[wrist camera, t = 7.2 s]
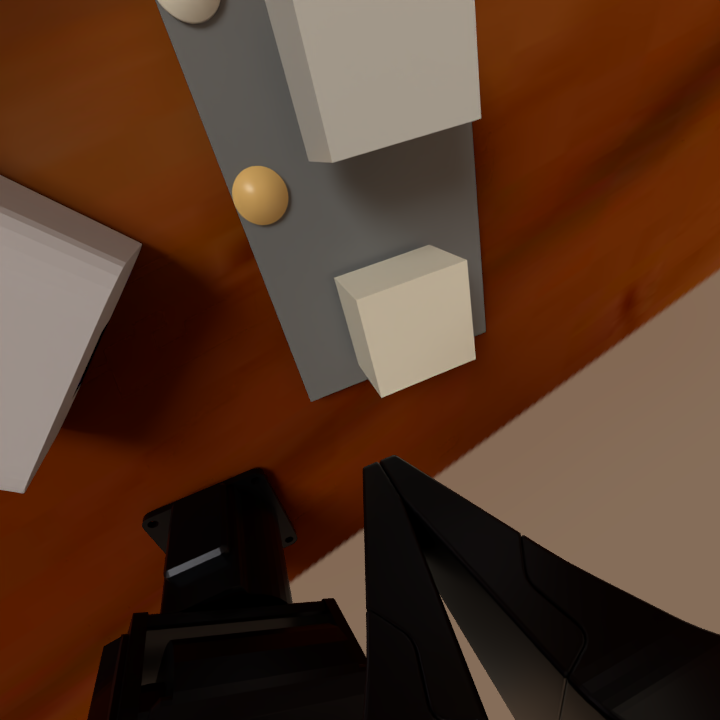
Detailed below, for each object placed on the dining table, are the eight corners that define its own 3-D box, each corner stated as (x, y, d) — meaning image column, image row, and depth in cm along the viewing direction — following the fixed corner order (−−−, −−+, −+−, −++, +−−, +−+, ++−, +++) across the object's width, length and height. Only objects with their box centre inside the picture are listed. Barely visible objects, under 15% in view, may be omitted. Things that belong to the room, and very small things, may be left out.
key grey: (430, 125, 13) (481, 118, 11) (308, 161, 13) (332, 162, 10) (410, -55, 11) (467, -117, 8) (258, -23, 10) (272, -80, 8)
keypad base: (475, 325, 21) (488, 333, 20) (306, 391, 20) (311, 403, 19) (392, -667, 8) (417, -780, 7) (-119, -706, 7) (-177, -854, 6)
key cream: (441, 332, 19) (475, 358, 17) (358, 364, 19) (381, 397, 16) (429, 244, 17) (467, 259, 14) (334, 277, 16) (356, 300, 14)
